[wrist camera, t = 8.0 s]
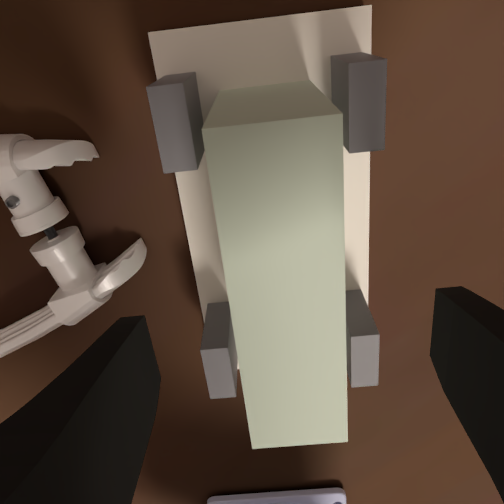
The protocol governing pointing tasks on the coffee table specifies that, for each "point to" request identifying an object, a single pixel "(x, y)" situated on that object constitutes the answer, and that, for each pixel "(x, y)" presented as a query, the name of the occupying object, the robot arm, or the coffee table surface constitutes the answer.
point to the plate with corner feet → (257, 74)
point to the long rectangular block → (283, 256)
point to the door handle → (55, 238)
